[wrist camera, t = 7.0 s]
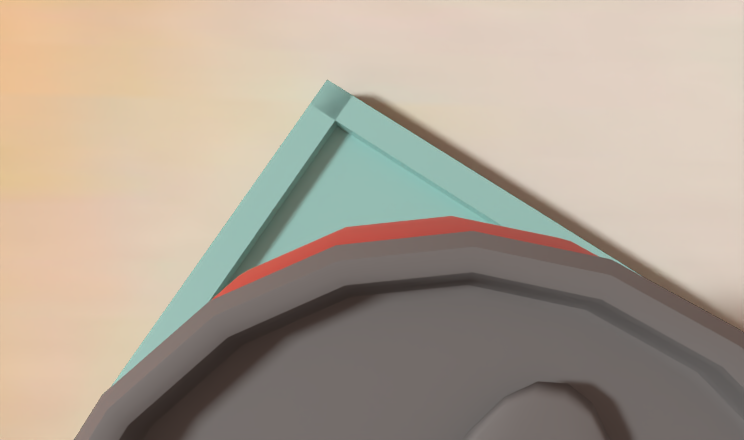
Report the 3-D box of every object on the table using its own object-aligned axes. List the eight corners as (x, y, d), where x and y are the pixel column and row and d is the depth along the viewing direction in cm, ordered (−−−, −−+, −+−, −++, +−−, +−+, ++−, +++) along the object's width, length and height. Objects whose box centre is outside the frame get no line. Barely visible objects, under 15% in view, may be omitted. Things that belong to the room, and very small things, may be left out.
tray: (747, 355, 21) (772, 357, 19) (513, 761, 19) (521, 794, 18) (331, 95, 23) (327, 79, 22) (89, 440, 21) (67, 448, 20)
